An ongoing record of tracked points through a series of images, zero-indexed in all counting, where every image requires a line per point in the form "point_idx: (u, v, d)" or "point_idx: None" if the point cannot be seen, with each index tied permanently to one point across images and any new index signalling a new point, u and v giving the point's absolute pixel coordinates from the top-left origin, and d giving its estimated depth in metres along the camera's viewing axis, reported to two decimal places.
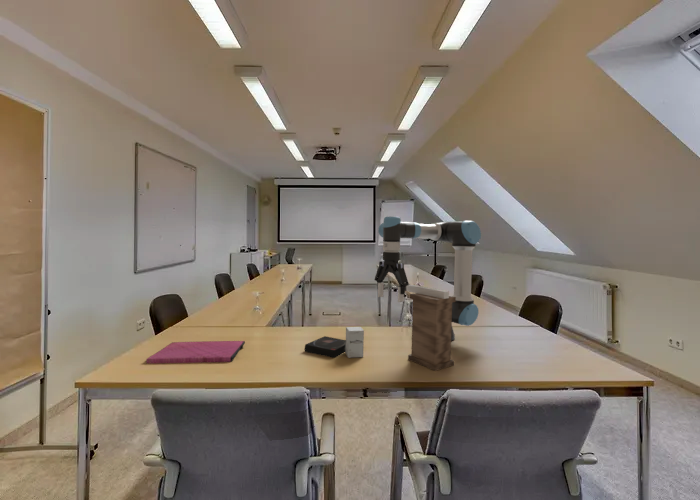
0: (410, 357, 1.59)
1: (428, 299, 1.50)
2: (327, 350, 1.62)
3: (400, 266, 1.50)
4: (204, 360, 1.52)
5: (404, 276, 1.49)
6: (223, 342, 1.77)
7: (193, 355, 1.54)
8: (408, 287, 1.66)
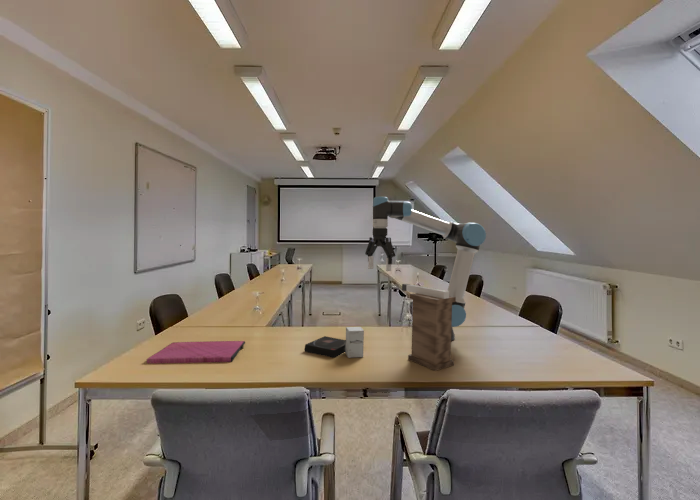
0: (410, 357, 1.59)
1: (428, 299, 1.50)
2: (327, 350, 1.62)
3: (388, 240, 1.71)
4: (204, 360, 1.52)
5: (391, 248, 1.70)
6: (223, 342, 1.77)
7: (193, 355, 1.54)
8: (408, 287, 1.66)
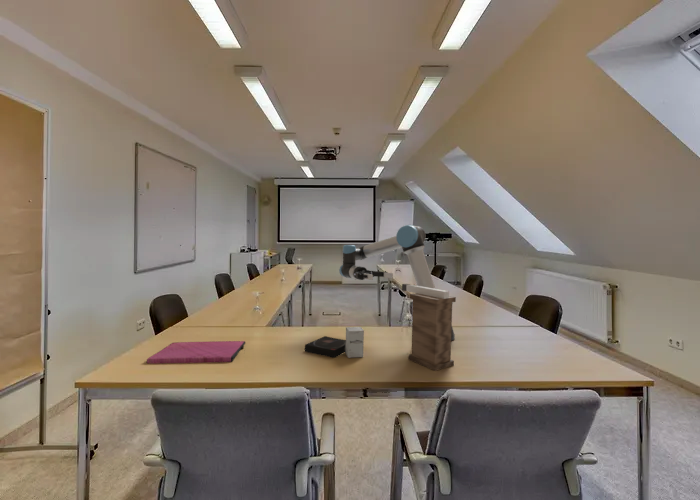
0: (410, 357, 1.59)
1: (428, 299, 1.50)
2: (327, 350, 1.62)
3: (354, 275, 1.92)
4: (204, 360, 1.52)
5: (356, 275, 1.87)
6: (224, 342, 1.77)
7: (193, 355, 1.54)
8: (408, 287, 1.66)
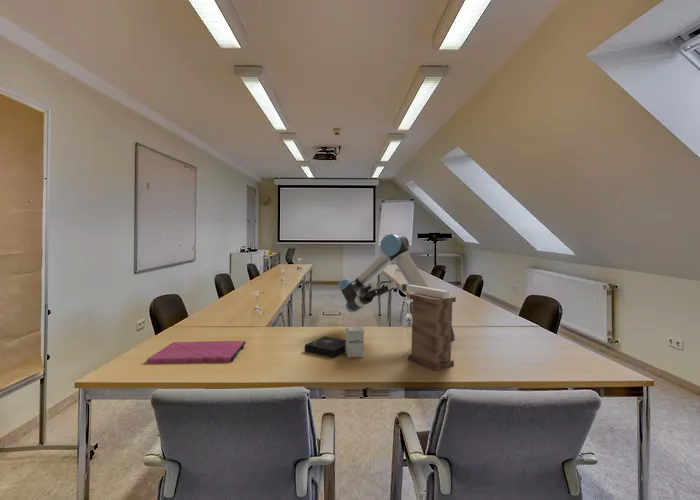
0: (410, 357, 1.59)
1: (428, 299, 1.50)
2: (327, 350, 1.62)
3: (360, 296, 1.89)
4: (205, 360, 1.52)
5: (361, 292, 1.86)
6: (224, 342, 1.76)
7: (194, 355, 1.54)
8: (408, 287, 1.66)
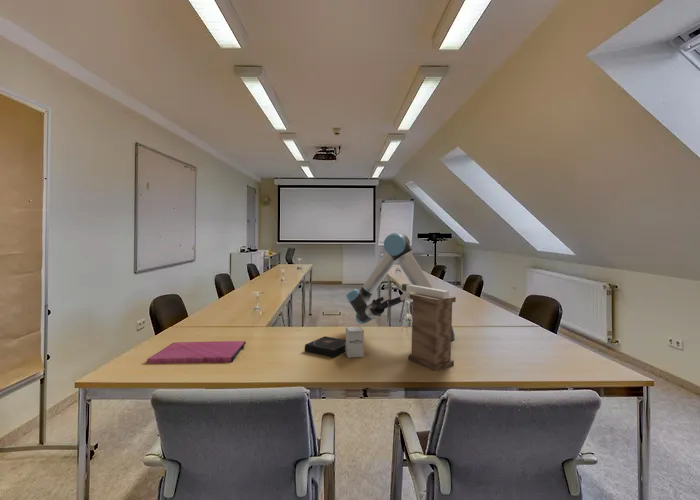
0: (410, 357, 1.59)
1: (428, 299, 1.50)
2: (327, 350, 1.62)
3: (371, 308, 1.81)
4: (205, 360, 1.52)
5: (372, 304, 1.77)
6: (224, 342, 1.76)
7: (194, 355, 1.54)
8: (408, 287, 1.66)
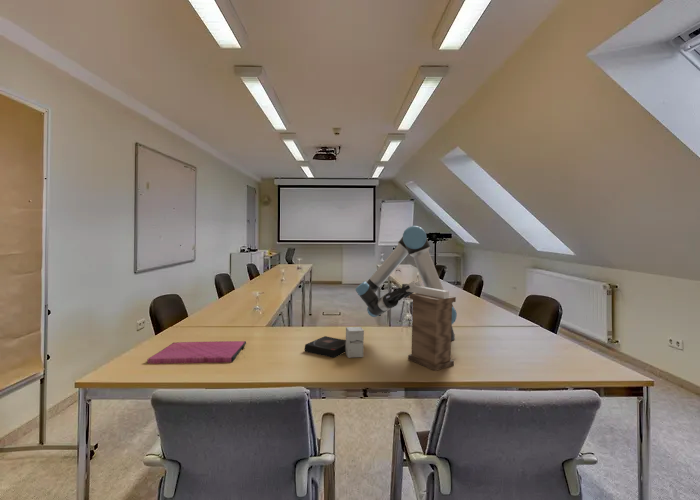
0: (410, 357, 1.59)
1: (428, 299, 1.50)
2: (327, 350, 1.62)
3: (388, 298, 1.71)
4: (205, 360, 1.52)
5: (394, 293, 1.68)
6: (224, 342, 1.76)
7: (194, 355, 1.54)
8: None
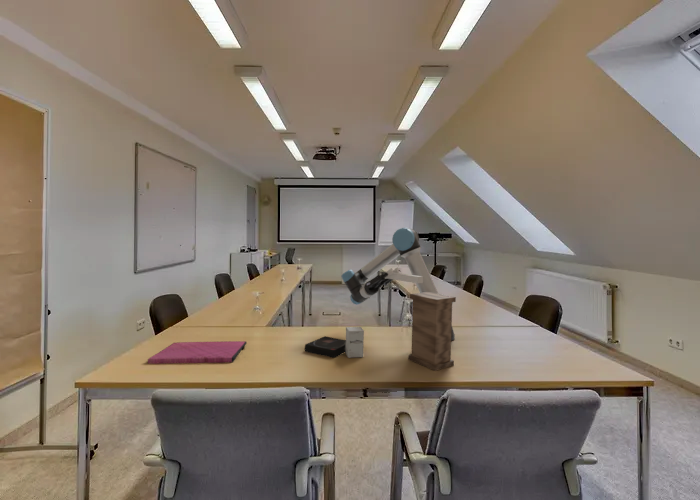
0: (410, 357, 1.59)
1: (428, 299, 1.50)
2: (327, 350, 1.62)
3: (368, 285, 1.82)
4: (205, 360, 1.52)
5: (374, 280, 1.79)
6: (225, 342, 1.76)
7: (194, 355, 1.54)
8: None
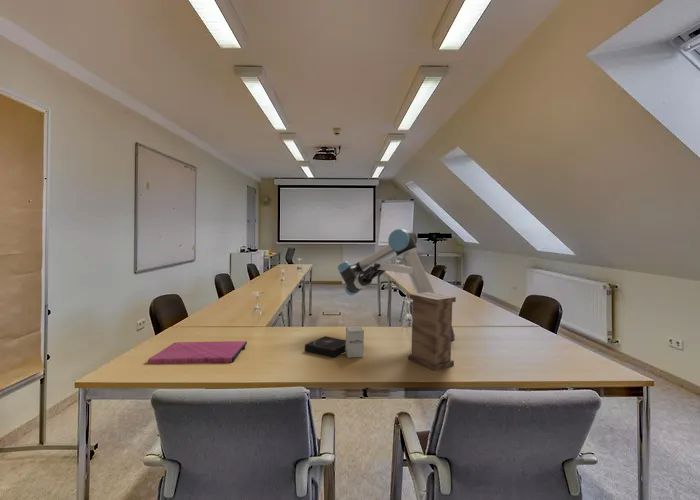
0: (410, 357, 1.59)
1: (428, 299, 1.50)
2: (327, 350, 1.62)
3: (362, 276, 1.89)
4: (205, 361, 1.52)
5: (367, 271, 1.86)
6: (225, 342, 1.76)
7: (195, 355, 1.54)
8: None
